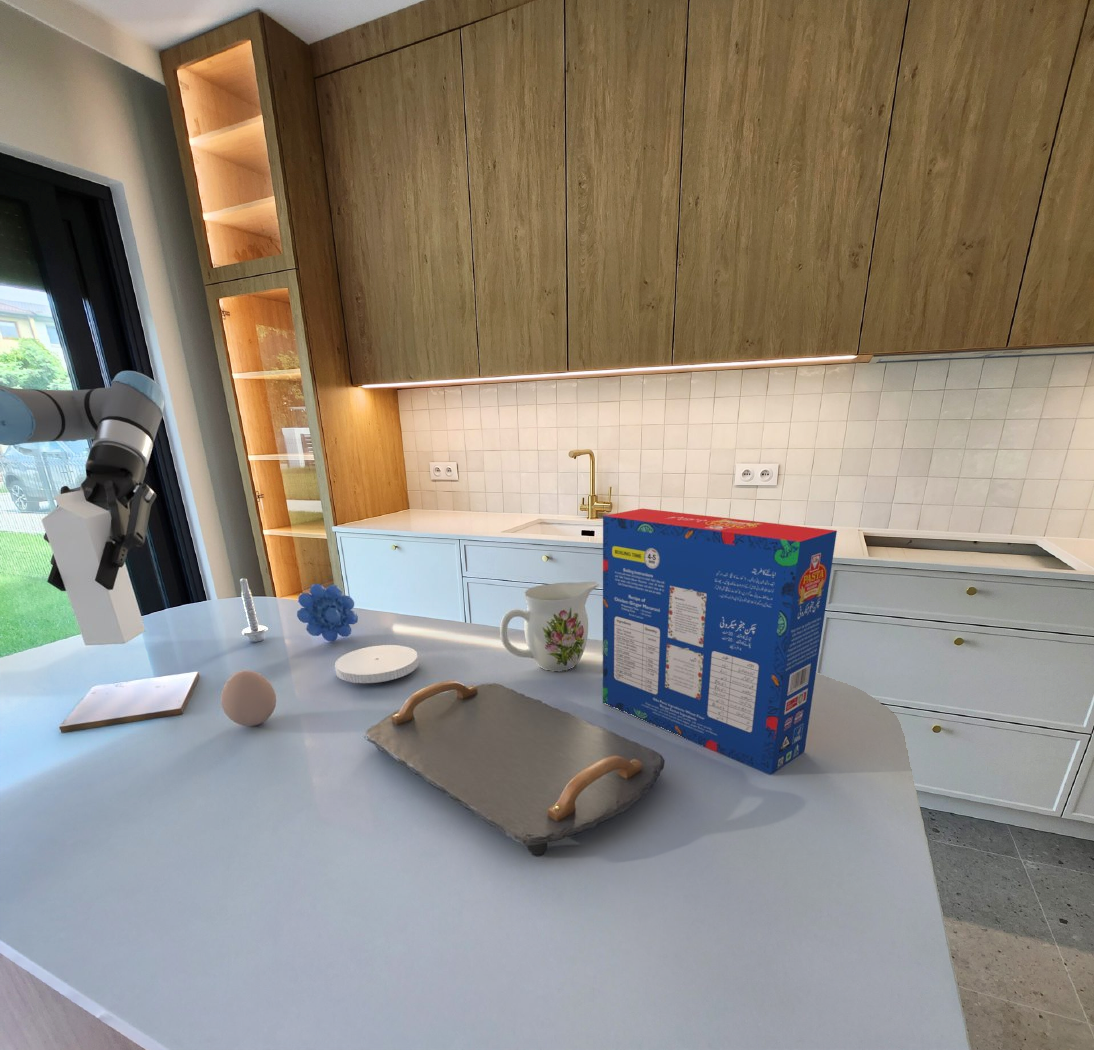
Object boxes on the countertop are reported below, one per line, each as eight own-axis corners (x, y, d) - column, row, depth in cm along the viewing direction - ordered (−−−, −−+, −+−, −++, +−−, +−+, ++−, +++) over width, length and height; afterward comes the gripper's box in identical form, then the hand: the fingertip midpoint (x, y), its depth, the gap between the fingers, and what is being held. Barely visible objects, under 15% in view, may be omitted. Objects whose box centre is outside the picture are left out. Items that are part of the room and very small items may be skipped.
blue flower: (310, 653, 118) (299, 592, 114) (299, 644, 123) (287, 585, 119) (368, 639, 125) (359, 581, 120) (355, 631, 130) (346, 575, 125)
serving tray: (352, 744, 85) (344, 703, 83) (485, 692, 99) (482, 656, 97) (546, 883, 59) (544, 829, 56) (688, 784, 73) (691, 738, 71)
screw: (271, 635, 130) (267, 642, 125) (246, 637, 129) (241, 645, 124) (258, 573, 124) (253, 579, 120) (232, 575, 124) (226, 581, 119)
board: (61, 732, 91) (58, 726, 91) (95, 691, 105) (93, 685, 105) (182, 714, 96) (180, 708, 95) (199, 676, 110) (198, 671, 109)
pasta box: (804, 751, 79) (836, 530, 68) (770, 775, 75) (799, 541, 64) (637, 688, 99) (642, 508, 88) (602, 703, 94) (602, 515, 83)
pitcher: (494, 662, 111) (488, 587, 106) (586, 647, 117) (585, 575, 111) (512, 685, 101) (507, 604, 96) (612, 667, 107) (612, 590, 102)
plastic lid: (348, 696, 100) (346, 681, 99) (328, 668, 111) (326, 655, 110) (430, 676, 106) (429, 662, 105) (404, 652, 117) (402, 639, 116)
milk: (146, 631, 100) (104, 489, 91) (124, 644, 94) (78, 494, 86) (107, 633, 100) (62, 490, 91) (83, 646, 94) (32, 495, 86)
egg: (285, 726, 91) (273, 673, 87) (231, 740, 87) (217, 685, 84) (276, 708, 96) (264, 658, 93) (225, 721, 93) (211, 669, 90)
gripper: (192, 472, 102) (161, 596, 93) (77, 476, 102) (36, 600, 94) (164, 439, 95) (128, 570, 86) (41, 443, 95) (-7, 574, 87)
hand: (80, 585), depth 90 cm, fingers closed on milk, 6 cm apart
